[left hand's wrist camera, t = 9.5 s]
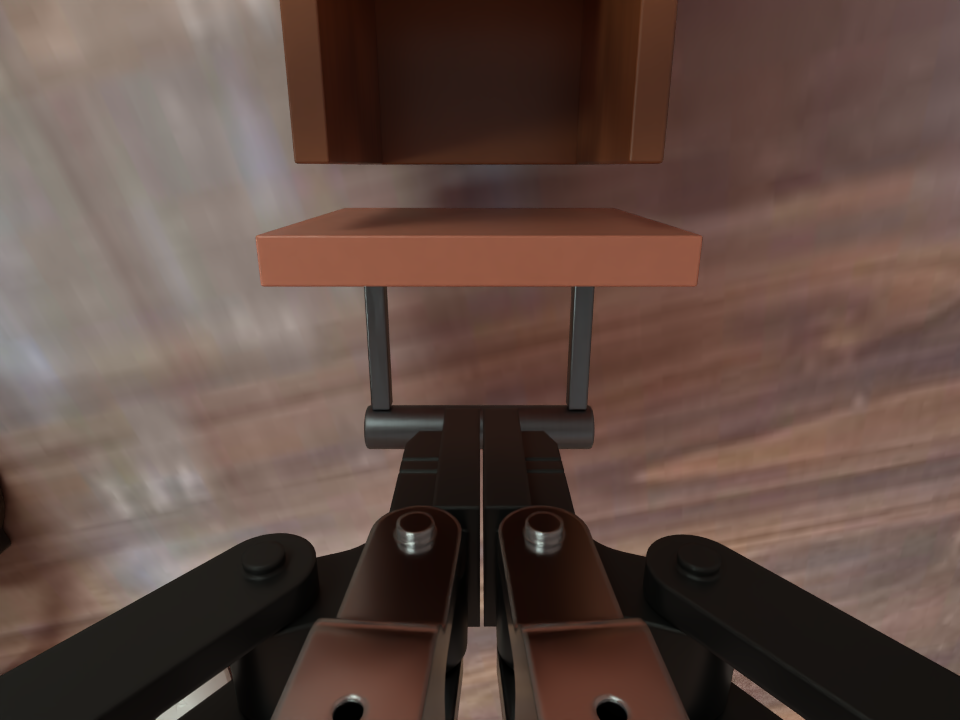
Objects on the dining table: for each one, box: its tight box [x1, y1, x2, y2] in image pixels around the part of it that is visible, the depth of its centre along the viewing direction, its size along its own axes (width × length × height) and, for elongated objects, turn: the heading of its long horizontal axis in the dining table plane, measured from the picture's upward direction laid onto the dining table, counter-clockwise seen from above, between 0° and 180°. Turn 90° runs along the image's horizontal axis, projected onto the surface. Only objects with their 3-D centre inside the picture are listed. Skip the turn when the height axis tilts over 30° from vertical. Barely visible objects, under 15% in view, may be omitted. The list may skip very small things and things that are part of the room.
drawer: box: [256, 0, 703, 449], centre depth 16 cm, size 24×10×9 cm, turn 0°
